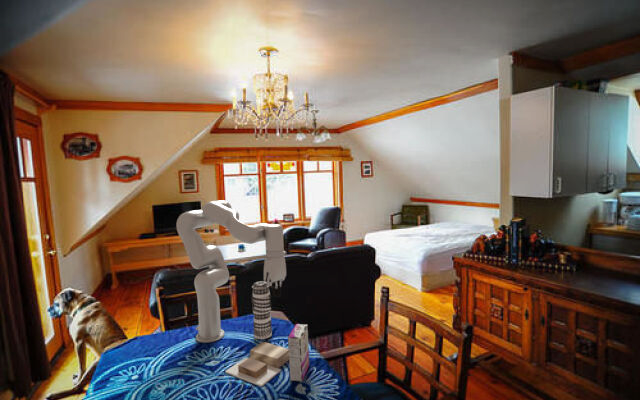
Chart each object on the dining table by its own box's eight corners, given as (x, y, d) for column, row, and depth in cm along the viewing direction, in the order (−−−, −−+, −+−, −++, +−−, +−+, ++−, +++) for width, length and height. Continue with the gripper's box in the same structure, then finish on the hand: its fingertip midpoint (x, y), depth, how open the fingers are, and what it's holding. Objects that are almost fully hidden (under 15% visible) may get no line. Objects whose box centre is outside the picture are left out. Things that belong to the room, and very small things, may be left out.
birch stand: (250, 359, 134) (250, 350, 134) (263, 350, 141) (263, 341, 141) (277, 368, 127) (277, 358, 127) (290, 359, 134) (289, 349, 134)
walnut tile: (249, 357, 130) (249, 364, 130) (238, 365, 125) (238, 371, 125) (266, 363, 125) (267, 370, 125) (256, 371, 120) (256, 378, 120)
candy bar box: (297, 364, 130) (295, 323, 129) (309, 365, 129) (308, 324, 128) (289, 381, 119) (287, 336, 118) (302, 382, 118) (300, 337, 117)
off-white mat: (225, 372, 126) (225, 371, 126) (246, 358, 135) (245, 357, 135) (261, 386, 116) (261, 385, 116) (280, 371, 126) (280, 369, 126)
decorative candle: (271, 339, 151) (269, 285, 150) (251, 339, 151) (248, 286, 150) (274, 330, 160) (272, 279, 159) (255, 330, 160) (253, 280, 159)
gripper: (279, 249, 148) (280, 290, 149) (256, 256, 135) (258, 300, 136) (292, 251, 144) (294, 292, 145) (270, 258, 131) (272, 303, 132)
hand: (276, 296), depth 141 cm, fingers closed
